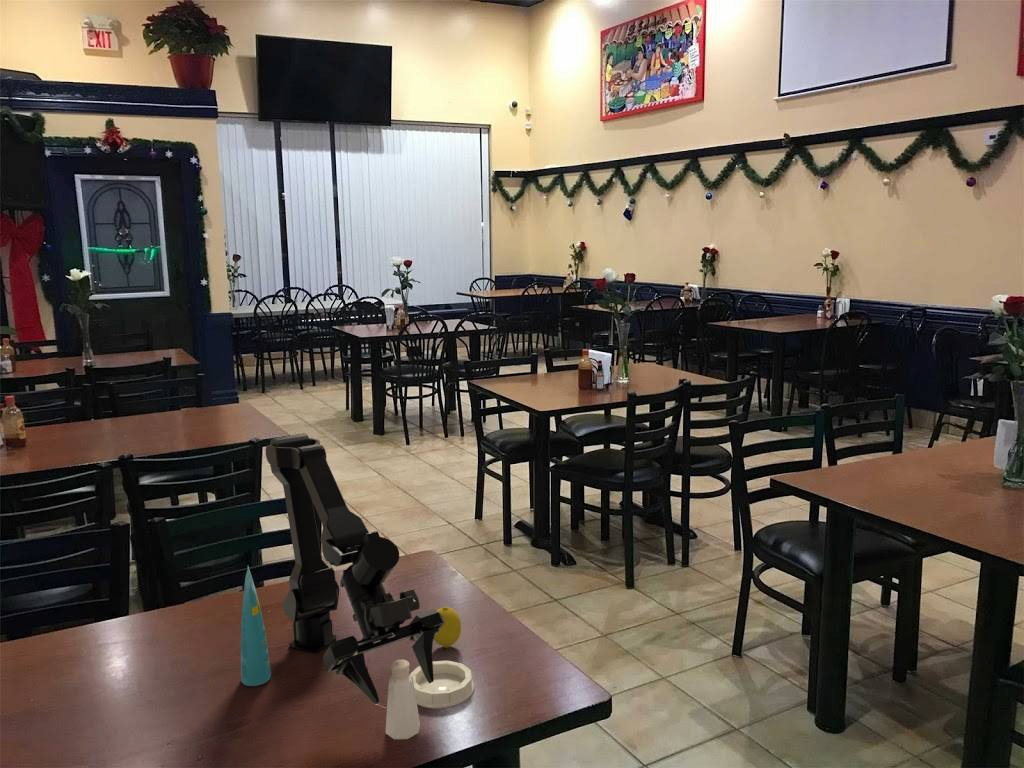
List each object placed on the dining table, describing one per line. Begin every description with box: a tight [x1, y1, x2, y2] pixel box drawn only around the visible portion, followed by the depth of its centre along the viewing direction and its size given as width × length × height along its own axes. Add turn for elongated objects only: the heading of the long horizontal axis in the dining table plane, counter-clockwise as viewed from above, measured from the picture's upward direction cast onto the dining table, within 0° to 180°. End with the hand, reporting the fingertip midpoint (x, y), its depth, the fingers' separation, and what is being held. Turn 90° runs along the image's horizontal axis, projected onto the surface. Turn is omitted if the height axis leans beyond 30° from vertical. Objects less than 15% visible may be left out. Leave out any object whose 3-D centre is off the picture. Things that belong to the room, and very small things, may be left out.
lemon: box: [433, 605, 462, 649], centre depth 148 cm, size 6×6×8 cm
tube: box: [240, 565, 272, 687], centre depth 137 cm, size 7×5×19 cm, turn 26°
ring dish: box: [409, 660, 475, 710], centre depth 134 cm, size 11×11×2 cm
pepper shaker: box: [385, 659, 421, 740], centre depth 123 cm, size 5×5×11 cm
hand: (405, 692), depth 122 cm, fingers open, 9 cm apart
